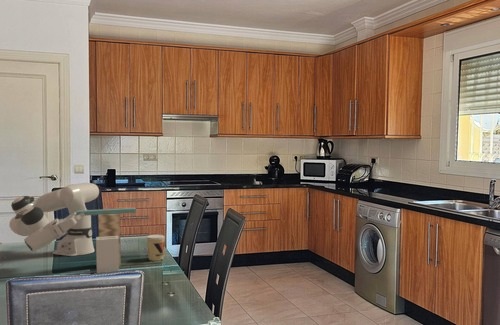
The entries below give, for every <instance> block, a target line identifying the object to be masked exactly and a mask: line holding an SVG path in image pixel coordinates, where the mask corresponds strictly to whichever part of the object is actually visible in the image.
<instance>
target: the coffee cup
mask: <svg viewBox="0 0 500 325" xmlns="http://www.w3.org/2000/svg"><path fill="white" fill-rule="evenodd" d="M165 239H166V238H165V235H164V234H150V235H147V236H146V243H147V255H148V260H149V261H161V259H162V260H164V256H165Z"/></svg>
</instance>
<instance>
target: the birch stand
mask: <svg viewBox="0 0 500 325" xmlns="http://www.w3.org/2000/svg"><path fill="white" fill-rule="evenodd" d="M120 215H121V214H105V215H97V217H98V218H97V219H98V237H107V236H118V242H119V267H121V266H122V263H121V262H122V259H121V224H120V223H121V218H120Z"/></svg>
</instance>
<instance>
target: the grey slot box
mask: <svg viewBox="0 0 500 325" xmlns="http://www.w3.org/2000/svg"><path fill="white" fill-rule="evenodd" d="M95 243H96V245H95V247H96V249H95V250H96V252H95V253H96V254H95V255H96V274H97V273H100V272H106V271H107V272H109V271H118V270H119V271H120V266H119V242H118V236H107V237H99V236H96V237H95Z"/></svg>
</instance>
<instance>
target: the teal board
mask: <svg viewBox="0 0 500 325" xmlns="http://www.w3.org/2000/svg"><path fill="white" fill-rule="evenodd" d="M82 212H84V214H85V216H86V215H91V216H98V215H105V214H120V215H121V214H136V213H137V208H136V207H126V208H107V209H106V208H105V209H104V208H103V209H87V210H80V211H77V215H79V214H81V213H82Z"/></svg>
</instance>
